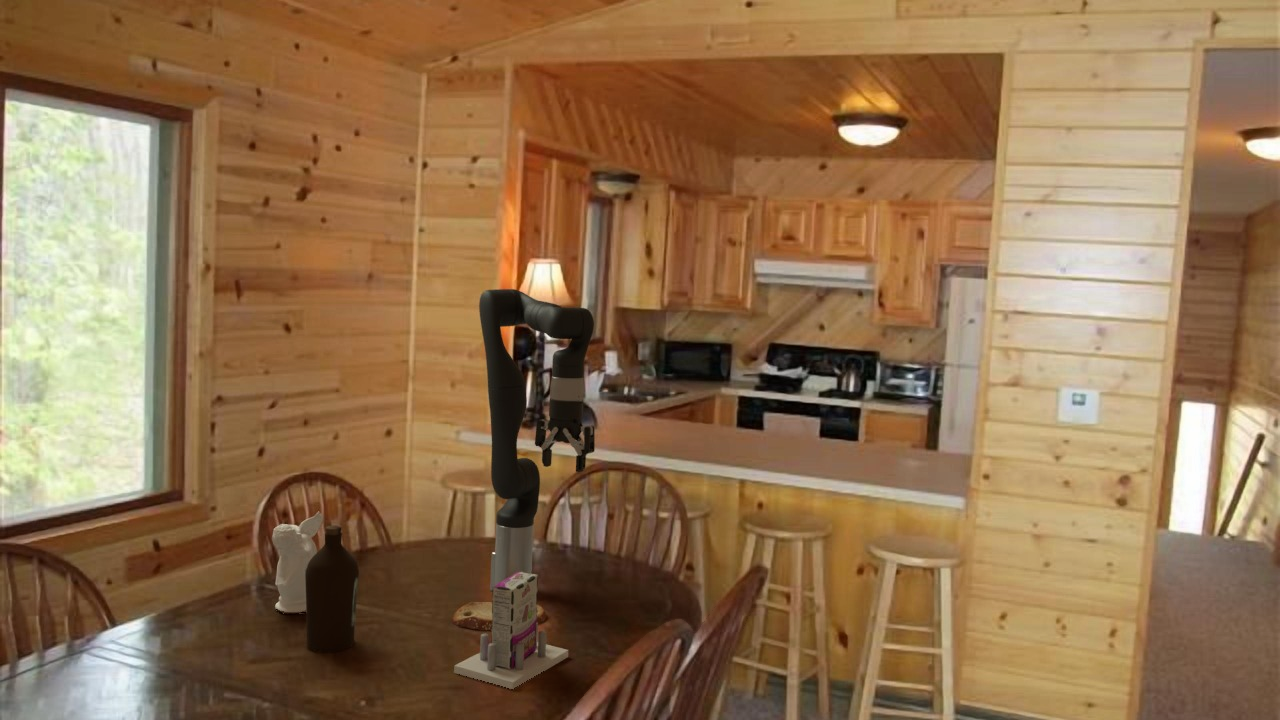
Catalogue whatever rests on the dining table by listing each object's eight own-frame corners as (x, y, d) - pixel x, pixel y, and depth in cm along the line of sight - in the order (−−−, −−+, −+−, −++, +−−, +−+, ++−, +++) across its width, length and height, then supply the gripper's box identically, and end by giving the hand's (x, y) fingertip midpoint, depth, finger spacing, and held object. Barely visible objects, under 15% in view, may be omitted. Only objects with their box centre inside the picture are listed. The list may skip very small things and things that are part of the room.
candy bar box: (514, 647, 208) (518, 570, 206) (536, 651, 206) (539, 574, 205) (488, 666, 197) (491, 585, 196) (510, 670, 196) (514, 589, 194)
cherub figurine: (278, 619, 221) (278, 522, 219) (257, 603, 231) (257, 510, 228) (330, 608, 229) (331, 514, 227) (308, 593, 239) (309, 503, 236)
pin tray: (454, 672, 197) (455, 641, 196) (512, 642, 214) (514, 613, 214) (512, 689, 190) (513, 656, 190) (568, 657, 208) (569, 626, 207)
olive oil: (307, 656, 201) (310, 535, 199) (300, 638, 211) (303, 522, 208) (361, 650, 206) (364, 531, 204) (352, 632, 215) (355, 519, 213)
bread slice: (552, 616, 233) (553, 601, 232) (512, 640, 216) (512, 624, 216) (487, 602, 240) (488, 587, 240) (443, 625, 224) (444, 608, 223)
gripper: (530, 395, 221) (527, 467, 223) (585, 402, 215) (581, 476, 216) (549, 392, 228) (545, 462, 229) (602, 399, 221) (599, 470, 223)
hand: (563, 468), depth 223 cm, fingers open, 8 cm apart
